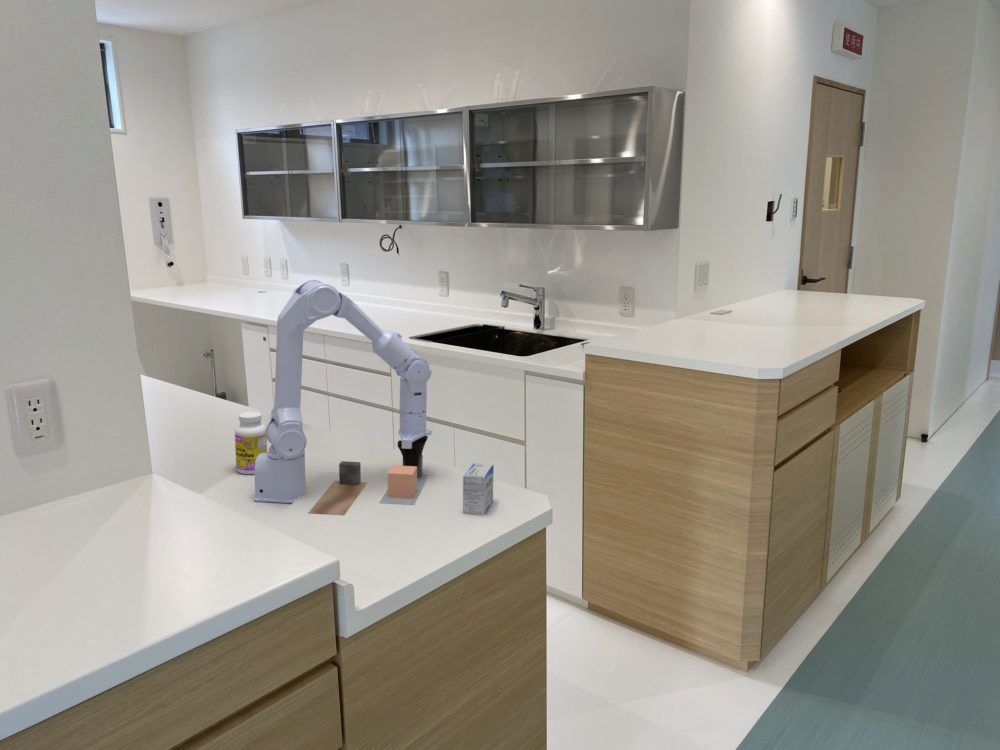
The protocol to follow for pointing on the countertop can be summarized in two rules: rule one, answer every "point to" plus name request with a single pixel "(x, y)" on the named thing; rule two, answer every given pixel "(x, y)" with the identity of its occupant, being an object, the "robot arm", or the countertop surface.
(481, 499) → the medicine box
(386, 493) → the slate strip
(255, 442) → the supplement bottle
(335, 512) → the walnut strip
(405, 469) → the terracotta block
